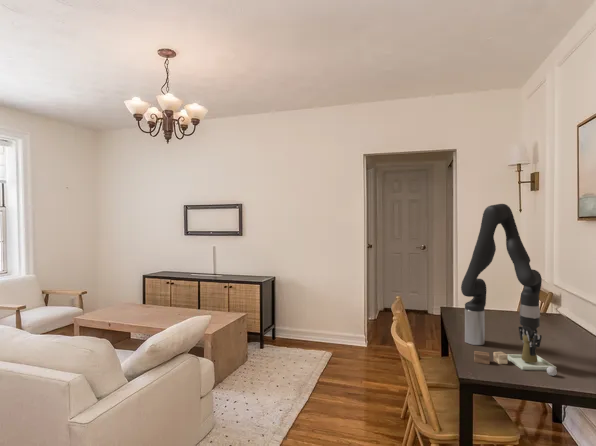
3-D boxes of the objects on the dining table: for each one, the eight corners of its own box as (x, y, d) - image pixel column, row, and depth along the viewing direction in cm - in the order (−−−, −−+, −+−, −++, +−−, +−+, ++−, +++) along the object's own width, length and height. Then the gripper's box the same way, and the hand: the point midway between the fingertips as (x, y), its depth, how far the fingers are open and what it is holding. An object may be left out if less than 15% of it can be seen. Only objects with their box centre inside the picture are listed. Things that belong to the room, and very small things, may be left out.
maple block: (493, 360, 168) (493, 352, 168) (501, 360, 169) (501, 351, 169) (499, 364, 164) (499, 355, 164) (507, 363, 165) (507, 354, 165)
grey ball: (544, 373, 154) (544, 365, 154) (553, 373, 154) (553, 365, 154) (550, 377, 151) (550, 368, 151) (558, 377, 150) (559, 368, 150)
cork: (531, 357, 168) (531, 333, 168) (540, 362, 162) (540, 337, 161) (518, 357, 167) (518, 333, 167) (527, 362, 161) (527, 337, 161)
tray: (505, 357, 172) (505, 354, 172) (536, 358, 171) (536, 354, 171) (522, 370, 158) (522, 366, 158) (556, 370, 157) (556, 366, 157)
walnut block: (474, 359, 170) (474, 350, 170) (488, 361, 168) (488, 352, 168) (474, 362, 166) (474, 353, 166) (489, 364, 164) (489, 355, 164)
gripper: (512, 310, 171) (512, 347, 172) (530, 319, 157) (530, 359, 157) (528, 310, 171) (528, 347, 171) (548, 319, 157) (548, 359, 157)
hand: (529, 353), depth 164 cm, fingers open, 4 cm apart
